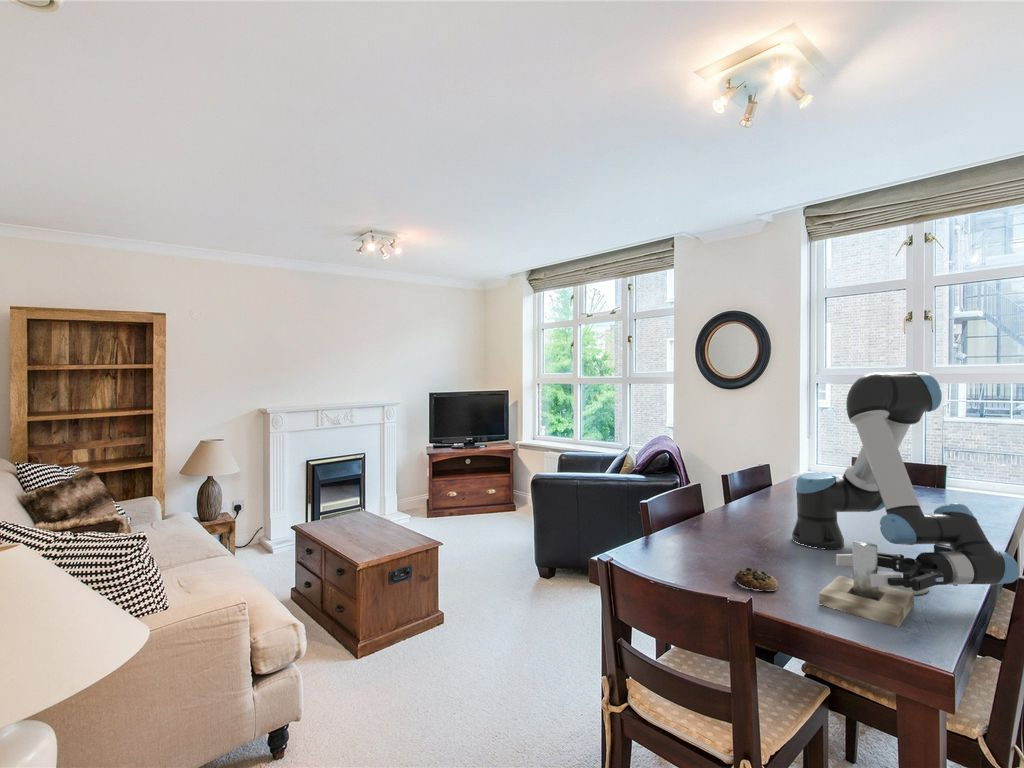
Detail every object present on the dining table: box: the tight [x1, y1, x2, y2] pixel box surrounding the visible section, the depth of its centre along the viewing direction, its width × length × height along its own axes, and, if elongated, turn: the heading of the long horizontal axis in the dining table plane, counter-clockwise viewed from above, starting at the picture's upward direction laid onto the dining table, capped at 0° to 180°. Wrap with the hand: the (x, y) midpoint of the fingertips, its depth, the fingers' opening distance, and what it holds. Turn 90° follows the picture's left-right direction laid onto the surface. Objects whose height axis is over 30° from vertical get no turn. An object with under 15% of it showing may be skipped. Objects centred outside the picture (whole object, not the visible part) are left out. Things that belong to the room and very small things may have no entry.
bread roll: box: [734, 567, 779, 590], centre depth 139 cm, size 11×11×5 cm
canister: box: [851, 540, 879, 601], centre depth 124 cm, size 5×5×15 cm
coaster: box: [878, 570, 930, 596], centre depth 136 cm, size 14×14×1 cm
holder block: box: [818, 575, 915, 628], centre depth 124 cm, size 16×16×3 cm
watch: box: [933, 544, 954, 552], centre depth 157 cm, size 6×8×11 cm
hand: (853, 569), depth 124 cm, fingers open, 13 cm apart
